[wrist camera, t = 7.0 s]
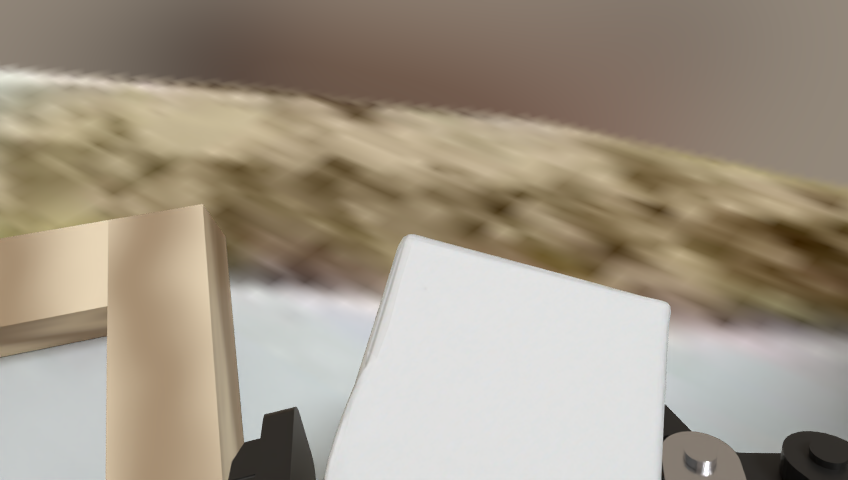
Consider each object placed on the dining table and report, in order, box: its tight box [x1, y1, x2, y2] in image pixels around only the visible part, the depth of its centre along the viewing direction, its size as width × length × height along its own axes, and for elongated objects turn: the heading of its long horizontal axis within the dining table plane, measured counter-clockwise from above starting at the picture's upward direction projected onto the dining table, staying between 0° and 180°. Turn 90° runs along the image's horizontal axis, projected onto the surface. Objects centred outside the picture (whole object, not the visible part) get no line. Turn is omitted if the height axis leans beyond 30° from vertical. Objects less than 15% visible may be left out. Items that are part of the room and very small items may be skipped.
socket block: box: [0, 204, 244, 480], centre depth 21 cm, size 16×16×4 cm
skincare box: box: [324, 234, 671, 480], centre depth 12 cm, size 6×4×12 cm
